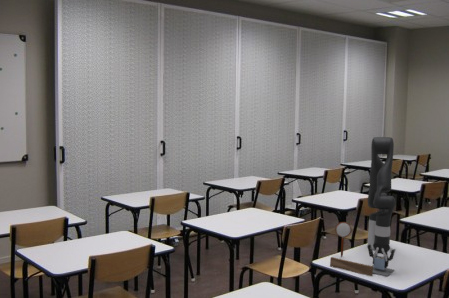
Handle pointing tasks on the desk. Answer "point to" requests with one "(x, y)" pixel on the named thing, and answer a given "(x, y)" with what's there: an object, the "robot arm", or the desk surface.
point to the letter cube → (379, 262)
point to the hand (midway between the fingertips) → (380, 266)
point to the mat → (382, 271)
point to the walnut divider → (351, 266)
